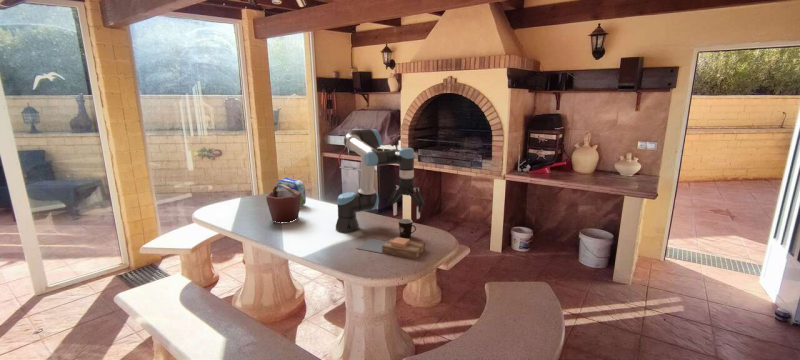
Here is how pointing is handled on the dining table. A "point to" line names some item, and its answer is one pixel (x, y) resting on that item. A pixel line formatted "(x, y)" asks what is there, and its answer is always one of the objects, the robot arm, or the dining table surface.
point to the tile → (400, 242)
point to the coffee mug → (405, 228)
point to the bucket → (284, 204)
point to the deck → (404, 249)
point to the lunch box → (293, 187)
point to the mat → (372, 245)
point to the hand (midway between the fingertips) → (406, 216)
